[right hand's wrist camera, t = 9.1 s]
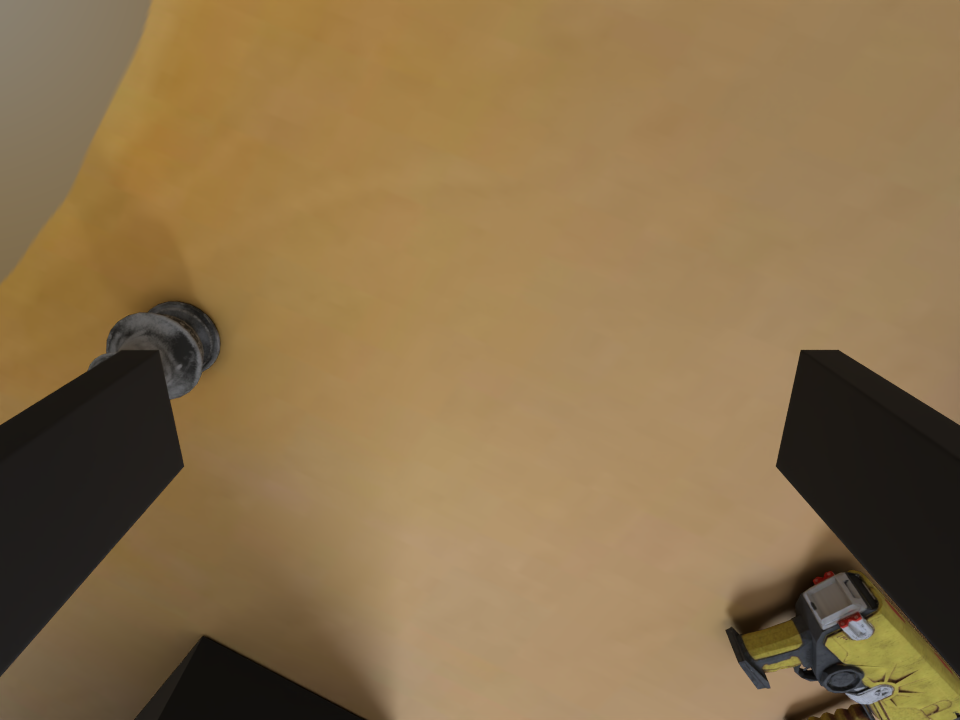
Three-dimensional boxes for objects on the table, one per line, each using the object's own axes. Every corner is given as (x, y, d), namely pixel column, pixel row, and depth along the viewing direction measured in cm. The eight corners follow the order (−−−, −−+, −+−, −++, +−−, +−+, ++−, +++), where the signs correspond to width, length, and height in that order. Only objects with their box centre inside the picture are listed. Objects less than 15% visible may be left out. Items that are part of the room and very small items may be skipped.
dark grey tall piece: (121, 345, 40) (-15, 429, 29) (161, 279, 38) (33, 341, 27) (198, 393, 42) (96, 491, 30) (240, 331, 40) (148, 411, 29)
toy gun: (855, 813, 54) (1021, 751, 49) (704, 691, 47) (882, 603, 42) (829, 759, 58) (980, 697, 53) (687, 639, 51) (847, 553, 46)
